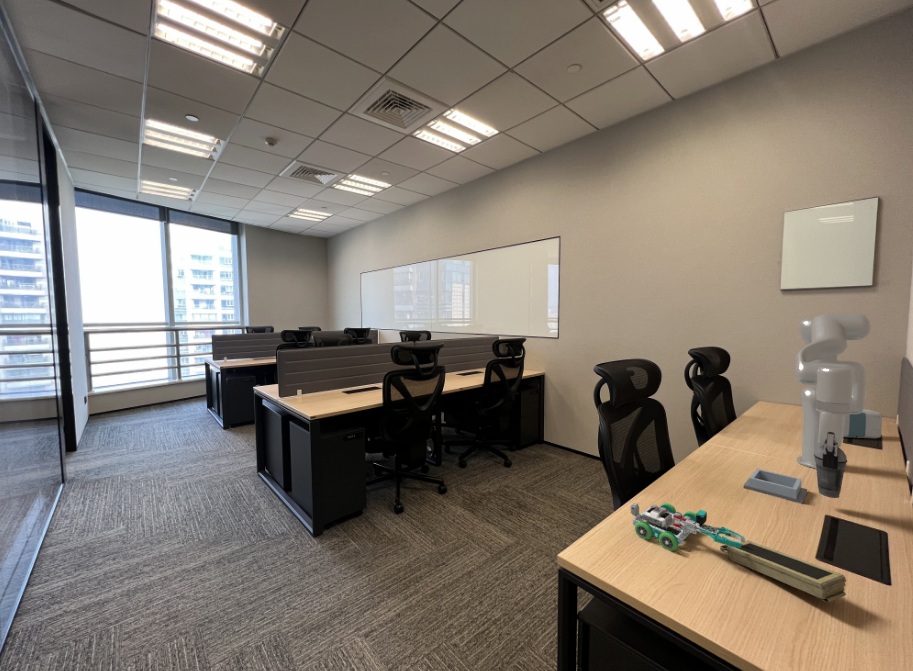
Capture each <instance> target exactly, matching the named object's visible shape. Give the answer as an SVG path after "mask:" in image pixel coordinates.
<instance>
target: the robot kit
mask: <svg viewBox="0 0 913 671" xmlns="http://www.w3.org/2000/svg"><path fill="white" fill-rule="evenodd" d="M630 514H632V516H634V518H633V519H632V525H633V526H634V531H635V532H636V535H637V536H638V537H639V538H641V539H642V540H647V541H648V540H650V539H651V537H652V536H653V538H654V539H656V540H658V541H659V543H660V545H661V547H663V549H665V550H667V551H669V552H674V551H676V550H677V549H678V547H679V545H681V546H682V545H683V544H684V541H685V539H686V538H687V537H688V536H689V535H690V534H694V535H697V532H699V533H702V534H703V535H707V536H709V537H710V538H711V539H713V542H714V543H719V544H722V545H728V546H732V547H737V548H741V543H740V542H743V543H744V542H745V541H746V540H745V537H744V536H743V535H741V534H739V533H737V532H735V531H733V530H731V529H729V528H727V527H724V526H721V527H717V526H712V525H708V524H706V523H707V517H708V513H707V511H706V510H702V509H699V510H698V511H697V512H696V513H695V512H694V511H691V510H690V511H688V510H687V511H685V512H684V514H682V513H681V512H680V511H677V510H676V507H675V506H674V505H673V504H671V503H668V502H664V503H662V504H660V506H659V505H657V504H655V503H653V504H651V506H649V507H648V508H647V509H645V510H644V511H643V512H641V513H640V506H639V503H634V502H633V503H632V504H630ZM646 521H647V522H646ZM650 523H652V524H654V525H652V524H650ZM669 527H670V528H672V529H673V530H676V531H677V532H679V533H678V534H677V535H676V534H675V533H672V531H667V528H669ZM723 535H724V536H723ZM727 537H729V538H733V539H735V540H738V541H735V540H732V539H729V538H727Z"/></svg>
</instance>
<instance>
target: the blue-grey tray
mask: <svg viewBox="0 0 913 671" xmlns="http://www.w3.org/2000/svg"><path fill="white" fill-rule="evenodd" d="M743 488H744V489H747V490H751V491H754V492H757V493H762V494H765V495H769V496H772V497H776V498H779V499H783V500H787V501H791V502H795V503H799V504H802V505H803V504H804V501H805V499H806V496H807V494H808V489H807V488H804V487H802V478H799V477H795V476H791V475H790V476H789V475H786V474H781V473H777V472H773V471H768V470H765V469H760V468H756V469H755V471H754V472H753V473H752V474H751V475H750V477H748V479H747V481H746V482H745V483H744V484H743Z"/></svg>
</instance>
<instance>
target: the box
mask: <svg viewBox="0 0 913 671" xmlns="http://www.w3.org/2000/svg"><path fill="white" fill-rule="evenodd" d="M739 543H741V548H737V547H732V546H728V545H725V544H722V545H720V547H719V549H720V551H725V552H727V553H728V555H729V560H730V561H732V562H734V563H736V564H739V565H742V566H744V567H746V568H749V569H752V570H753V571H756V572H758V573H761V574H763V575H764V576H767V577H770V578H772V579H775V580H777V581H779V582H782V583H784V584H786V585H788V586H790V587H791V588H795V589H798V590H800V591H802V592H805V593H807V594H810V595H812V596H814V597H816V598H817V599H818V600H820V601H823V602H825V603H831V602H833V601H836V600H838V599H841V598H843V597H845V596H846V595H847V593H846V590H845V587H846V586H847V585H846V582H847V578H846V577H845V575H844V574H842V573H841V572H837V571H836V570H835V571H834V570H831V569H829V568H826V567H823V566H820V565H817V564H815V563H813V562H809V561H807V560H803V559H801V558H798V557H795V556H793V555H789V554H788V553H784V552H782V551H779V550H777V549H774V548H771V547H767V546H764V545H763V544H759V543H756V542H753V541H750V540H745V542H744V543H743V542H741V541H739Z"/></svg>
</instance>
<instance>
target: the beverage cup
mask: <svg viewBox="0 0 913 671" xmlns="http://www.w3.org/2000/svg"><path fill="white" fill-rule="evenodd" d="M834 435H835V434H834ZM833 445H834V444H833ZM834 450H835V448H834ZM823 453H824V445H821V446H819V447H818V448H817V449H816V451H815V454H814V456H815V462H816V469H815V470H816V477H817V481H816V482H817V488H818V489H817V490H818V493H819V495H822V496H824V497H827V498H831V499H832V498H833V499H839V498H840V494H841V492H842V491H841V490H842V485H843V480H844V479H843V478H844V474H845V469H846V467H847V463H848V459H847V455H846V453H845V452H844V450H842V449H841V448H840V447H839V448H837V456H838V469H832V468H827V467H823V465H822V464H823Z"/></svg>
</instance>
